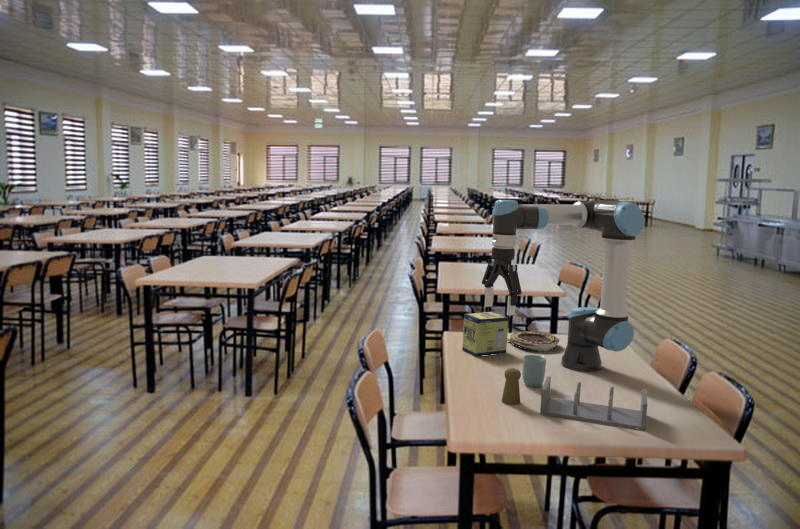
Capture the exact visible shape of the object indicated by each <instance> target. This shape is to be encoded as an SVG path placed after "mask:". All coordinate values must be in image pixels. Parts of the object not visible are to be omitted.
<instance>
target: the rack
mask: <svg viewBox="0 0 800 529" xmlns="http://www.w3.org/2000/svg"><path fill="white" fill-rule="evenodd" d="M543 383H544V384H543V386H542V388H541V398H540V409H539V411H540V412H539V415H543V416H550V417H557V418H561V419H562V418H563V419H568V420H576V421H582V422H588V423H593V424H594V423H595V424H599V425H606V424H607V426H612V425H614V427H619V426H622V427H621V428H625V427H630V428H629V429H632V428H638V429H645V430H646V422H647V413H648V394H647V393H648V392H647V389H642V390H641V398H640V400H641V401H640V410H638V409H631V408H624V407H619V406H618V407H617V406H613V403H614V390H615V386H609V394H608V404H607V405H602V404H599V403H598V404H596V403H590V402H583V401H581V389H582V388H581V387H582V382H580V381H577V382H576V391H574V395H573V400H571V399H570V400H569V399H564V398H563V399H562V398H556V397H551V383H552V376H549V375H548V376H546V379H545V381H544V382H543ZM638 429H637V430H638Z"/></svg>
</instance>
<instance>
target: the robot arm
mask: <svg viewBox="0 0 800 529" xmlns="http://www.w3.org/2000/svg"><path fill="white" fill-rule="evenodd" d="M491 217H492V220H493V224H492V238H491V240H492V243H491V244H492V246H493V247H491V256H490V259H488V261H487V265H486V268H485V272H484V274H483V278H482V280H481V284H482V285H484V290H485V293H484V307H486V308H488V307H493V305H494V291H495V290H494V288H495V286H494V284H495V283H496V281H497V280H498V277H499V276H501V278H503V279H504V282H505V285H506V287H507V290H508V295H507V307H506V315H507V317H508V316H515V315H516V309H517V307H516V306H517V299H518V296H519V295H522V286H521V283H520V278H519V272H518V265H517V264H515V263H514V264H512V261H513V260H515V256H516V254H515V252H516V249H515V248H514V247H516V244H517V243H516V240H517V230H535V231H536V230H542V229H545V227H547V226H573V227H574V228H576V229H577V228H578V229H588V230H591V231H597V232H601V239H602V241H603V242H604V254H603V256H604V258H603V269H602V280H601V290H600V305H599V307H594V306H593V307H592V306H589V307H586V306H583V307H582V306H581V307H573V308H571V309H570V311H569V317H568V328H567V329H568V330H567V345H566V348H565V350H564V353H563V355H562V357H561V362H560V364H561V365H562V366H563V367H564V368H567V369H570V370H573V371H580V372H596V371H600V370H601V369H602V365H603V364H602V363H603V362H602V359H601V354H600V350H599V347H600V348H603V349H605V350H607V351H613V352H621V351H624V350H625V349H627V348H628V346H630V344H631V343H632V341H633V339H634V336H635V328H634V326H633V325H632V323H630V321H629V313H628V312H627V311H626V309H625V308H626V297H627V287H628V275H629V263H630V251H631V245H632V243H634V242H635V241H636V236H637V235H639V234H641V233H642V232H641V231H643V229H644V226H645V225H644V224H645V214H644V213H643V210H642V209H641V208H640V206H638V204H636V203H633V202H629V201H617V200H605V199H602V200H601V199H599V200H591V201H577V202H574V203H573V204H550V203H549V204H545V203H544V204H542V203H541V204H539V203H538V204H536V203H535V204H534V203H533V204H530V203H529V204H525V203H524V204H521V203H518V201H517V200H512V199H497V200H496V201H495V202H494V207H493V209H492V213H491Z"/></svg>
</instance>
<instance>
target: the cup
mask: <svg viewBox="0 0 800 529" xmlns="http://www.w3.org/2000/svg"><path fill="white" fill-rule="evenodd" d="M546 363H547V359H546V357H544V356H542V355H539V354H538V355H537V354H526V355H523V358H522V373H521V375H522V381H523V384H525V385H526V386H527V387H530V388H539V387H540V386H542V384H543V383H544V382H545V381H544V380H545V377H546V365H547V364H546Z"/></svg>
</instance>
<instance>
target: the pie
mask: <svg viewBox="0 0 800 529" xmlns="http://www.w3.org/2000/svg"><path fill="white" fill-rule="evenodd" d="M507 341H509V342H511V343H512V345H513V344H514V345H513V346H515V345H517V346H516V347H518V346H520V347H522V348H521V349H524V348H526V349H525V350H527V349H529V350H528V351H530V350H532V351H531V352H542V351H548V352H550V351H549V350H551V351H553V350H554V349H555V347H556V346H557V345H558V344H559V342H561V341H560V338H558V337H556V335H554V334H551V333H547V332H546V333H543V332H538V331H531V330H528V331H526V330H523V331H517V332H513V333H510V334H508V335H507ZM511 343H510V344H511ZM520 347H519V348H520ZM553 348H554V349H553ZM552 349H553V350H552ZM534 350H535V351H534Z"/></svg>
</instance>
